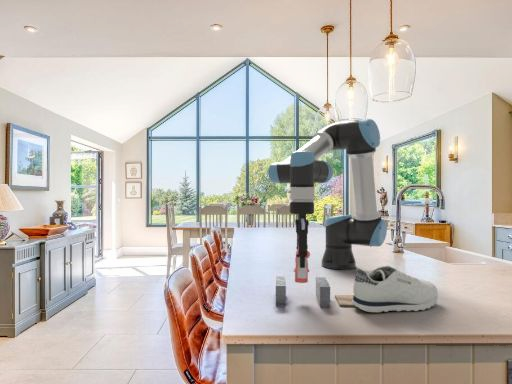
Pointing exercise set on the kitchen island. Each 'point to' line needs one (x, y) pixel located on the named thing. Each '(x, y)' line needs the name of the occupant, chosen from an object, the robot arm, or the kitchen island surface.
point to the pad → (345, 300)
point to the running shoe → (392, 291)
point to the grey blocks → (321, 291)
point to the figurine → (298, 280)
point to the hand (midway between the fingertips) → (301, 275)
